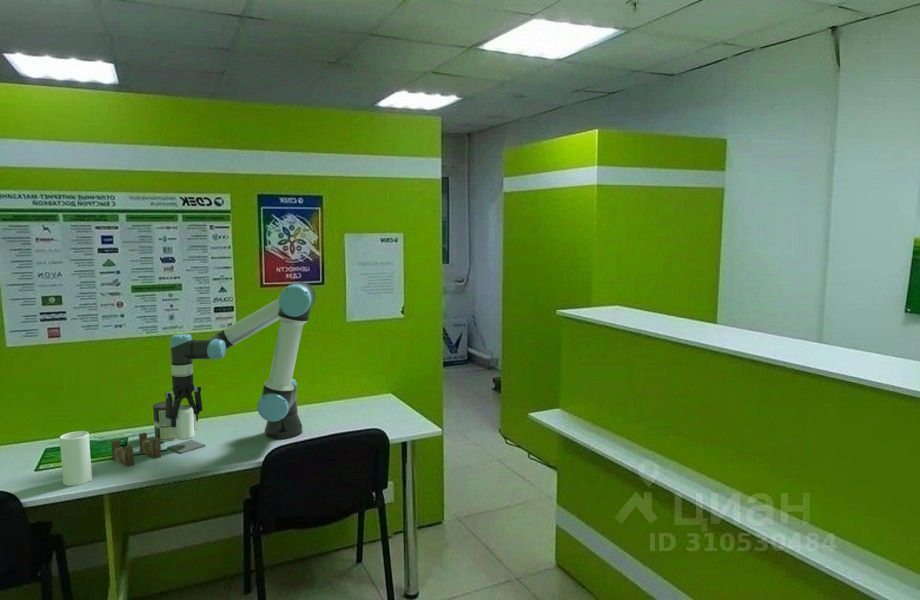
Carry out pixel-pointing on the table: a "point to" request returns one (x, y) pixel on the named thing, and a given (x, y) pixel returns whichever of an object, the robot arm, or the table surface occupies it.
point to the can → (185, 422)
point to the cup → (75, 458)
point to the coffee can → (163, 422)
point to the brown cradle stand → (126, 454)
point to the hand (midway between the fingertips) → (185, 432)
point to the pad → (186, 446)
